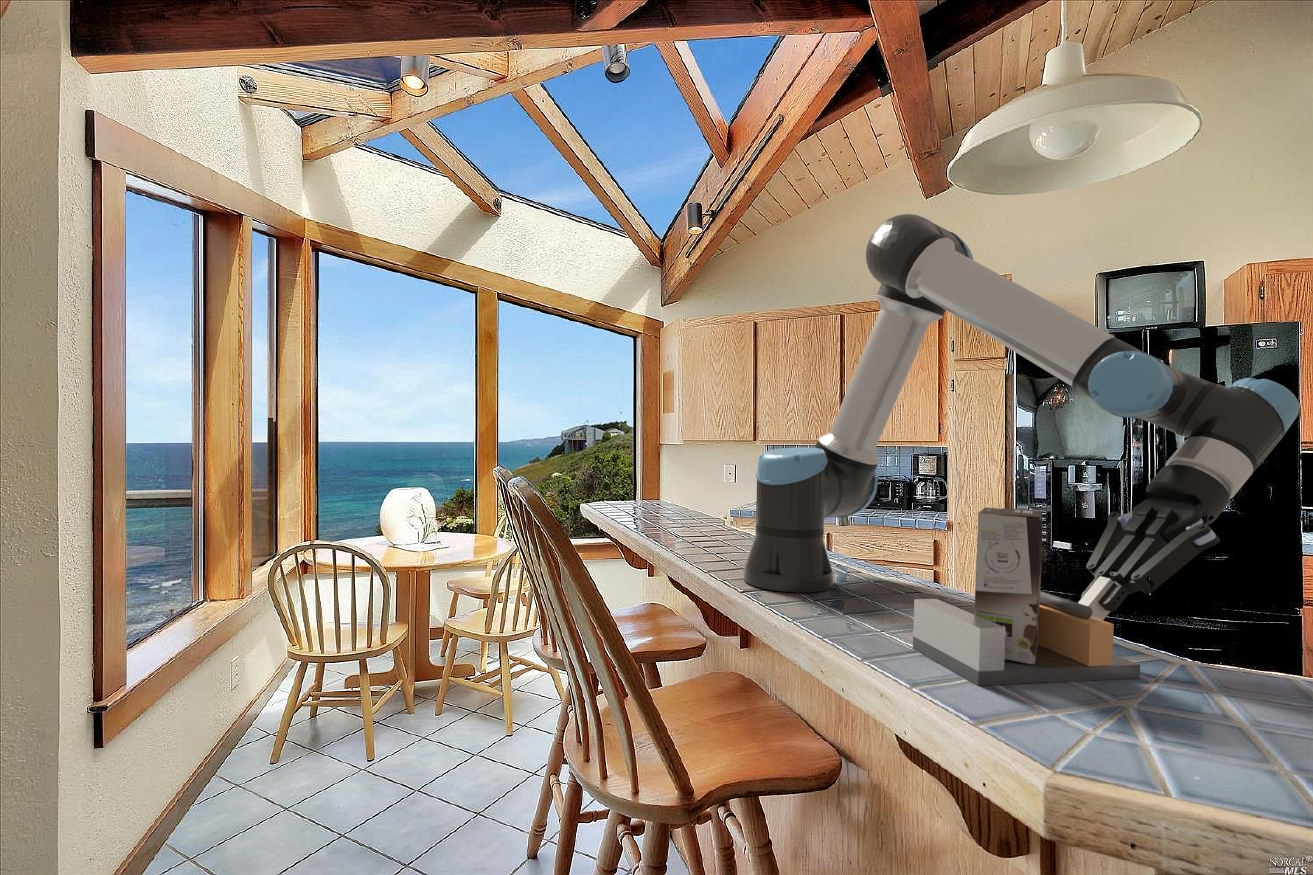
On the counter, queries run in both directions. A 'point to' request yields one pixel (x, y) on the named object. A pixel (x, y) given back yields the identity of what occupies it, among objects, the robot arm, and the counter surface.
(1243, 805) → the counter surface
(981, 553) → the coffee box
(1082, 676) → the vise bed
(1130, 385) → the robot arm
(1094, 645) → the block
